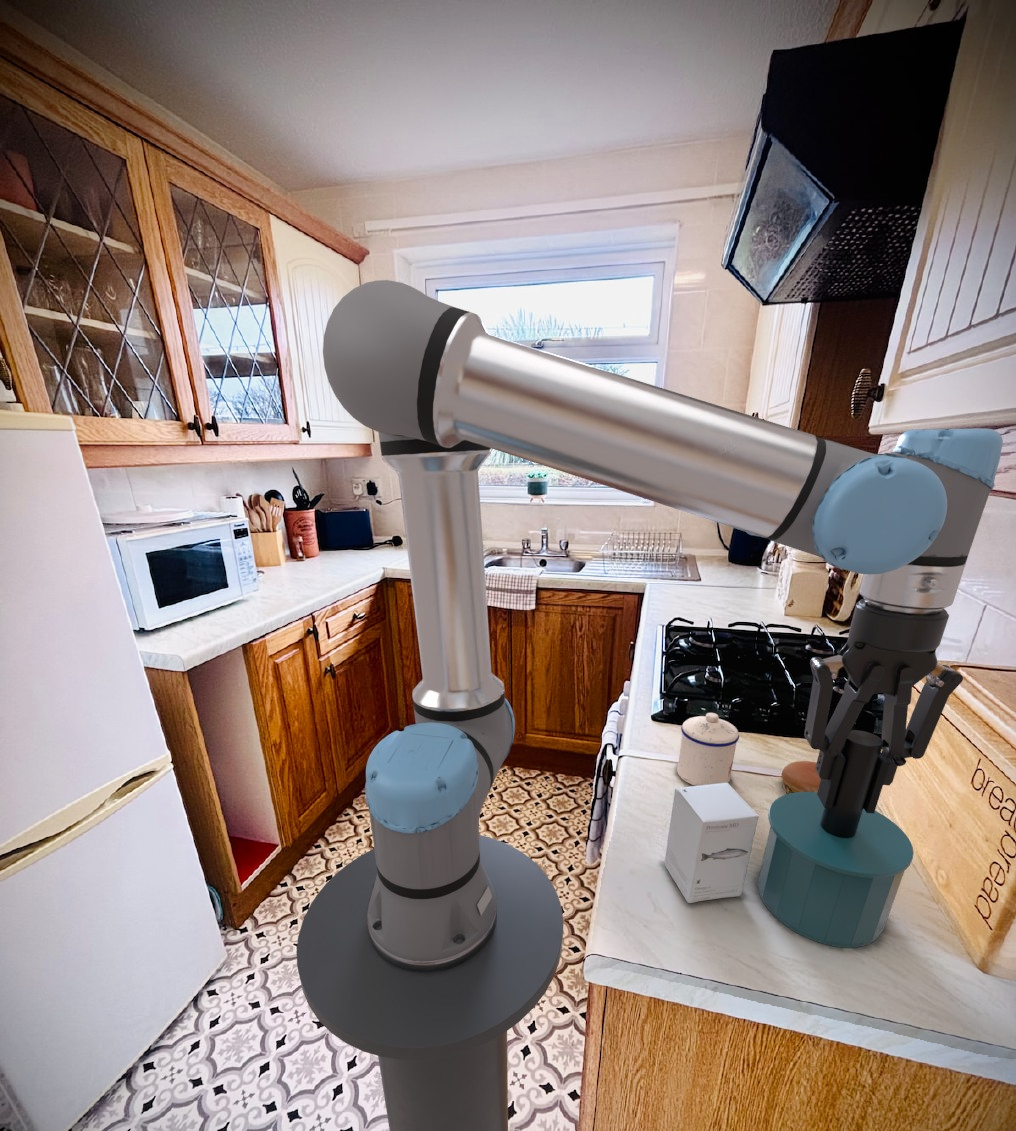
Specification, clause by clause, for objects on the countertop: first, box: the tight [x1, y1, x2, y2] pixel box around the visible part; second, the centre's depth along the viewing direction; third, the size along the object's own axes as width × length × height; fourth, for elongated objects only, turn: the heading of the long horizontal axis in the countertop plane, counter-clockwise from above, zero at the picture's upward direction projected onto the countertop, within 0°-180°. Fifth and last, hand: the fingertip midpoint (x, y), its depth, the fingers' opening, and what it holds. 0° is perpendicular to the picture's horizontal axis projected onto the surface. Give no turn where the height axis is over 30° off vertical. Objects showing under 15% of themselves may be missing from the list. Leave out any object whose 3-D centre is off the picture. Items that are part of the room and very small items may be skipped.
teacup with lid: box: [676, 712, 740, 786], centre depth 93 cm, size 12×9×12 cm
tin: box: [757, 825, 906, 949], centre depth 65 cm, size 14×14×10 cm
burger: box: [781, 760, 821, 794], centre depth 87 cm, size 10×9×5 cm
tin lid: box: [767, 729, 914, 878], centre depth 61 cm, size 15×15×13 cm
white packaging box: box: [663, 782, 759, 904], centre depth 68 cm, size 7×7×13 cm
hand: (844, 803), depth 62 cm, fingers closed on tin lid, 4 cm apart
